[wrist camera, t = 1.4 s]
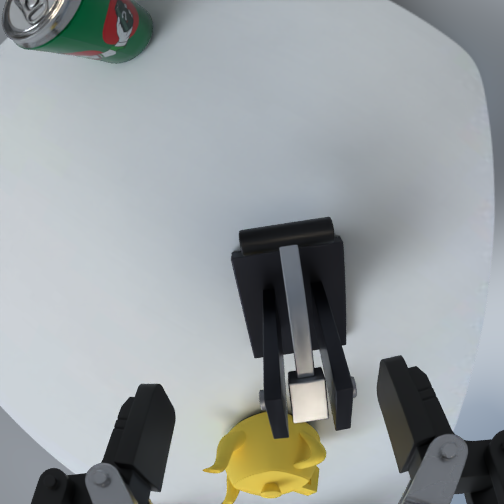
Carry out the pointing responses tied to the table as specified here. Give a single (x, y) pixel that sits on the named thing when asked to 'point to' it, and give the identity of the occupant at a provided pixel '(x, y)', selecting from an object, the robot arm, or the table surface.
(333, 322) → the bracket
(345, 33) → the table surface
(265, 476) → the teapot
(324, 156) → the table surface
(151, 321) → the table surface
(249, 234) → the lever
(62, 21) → the soda can
